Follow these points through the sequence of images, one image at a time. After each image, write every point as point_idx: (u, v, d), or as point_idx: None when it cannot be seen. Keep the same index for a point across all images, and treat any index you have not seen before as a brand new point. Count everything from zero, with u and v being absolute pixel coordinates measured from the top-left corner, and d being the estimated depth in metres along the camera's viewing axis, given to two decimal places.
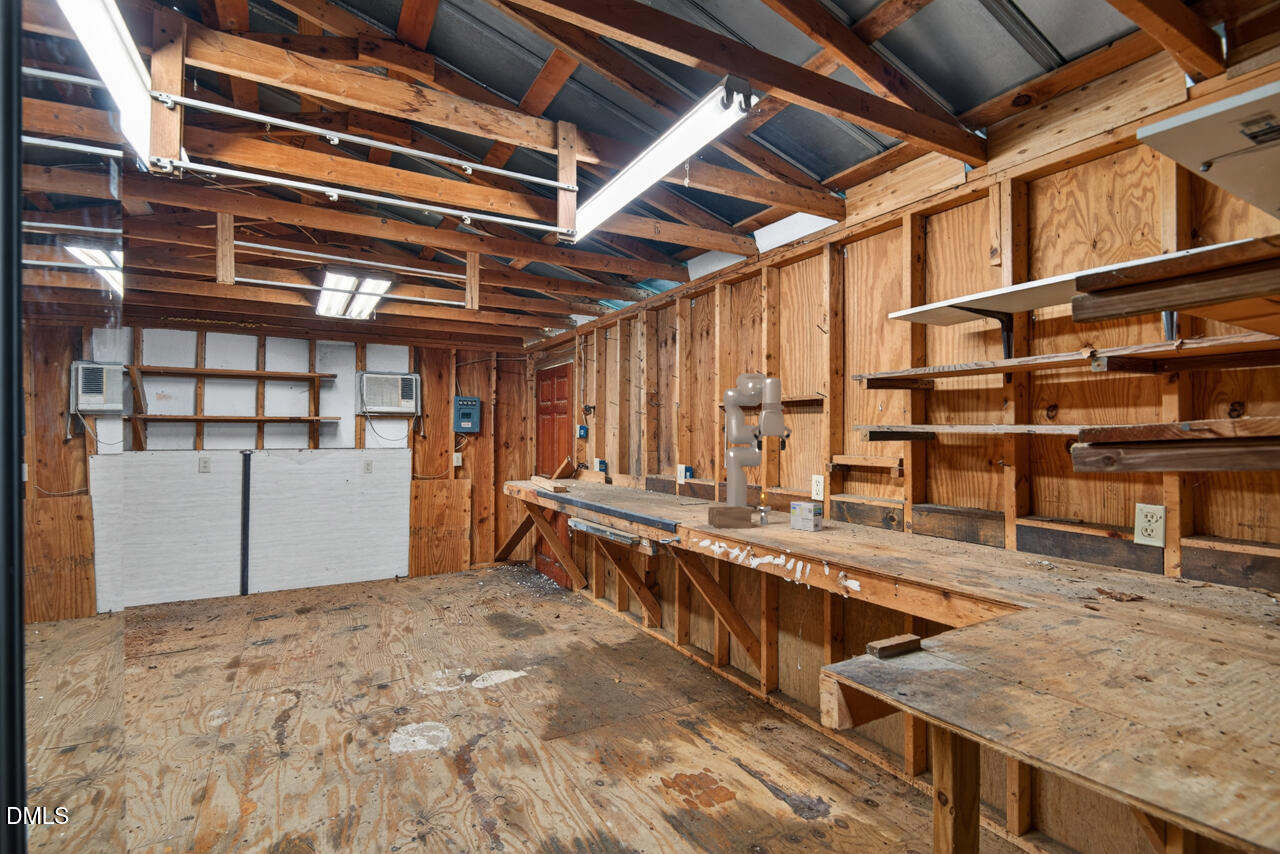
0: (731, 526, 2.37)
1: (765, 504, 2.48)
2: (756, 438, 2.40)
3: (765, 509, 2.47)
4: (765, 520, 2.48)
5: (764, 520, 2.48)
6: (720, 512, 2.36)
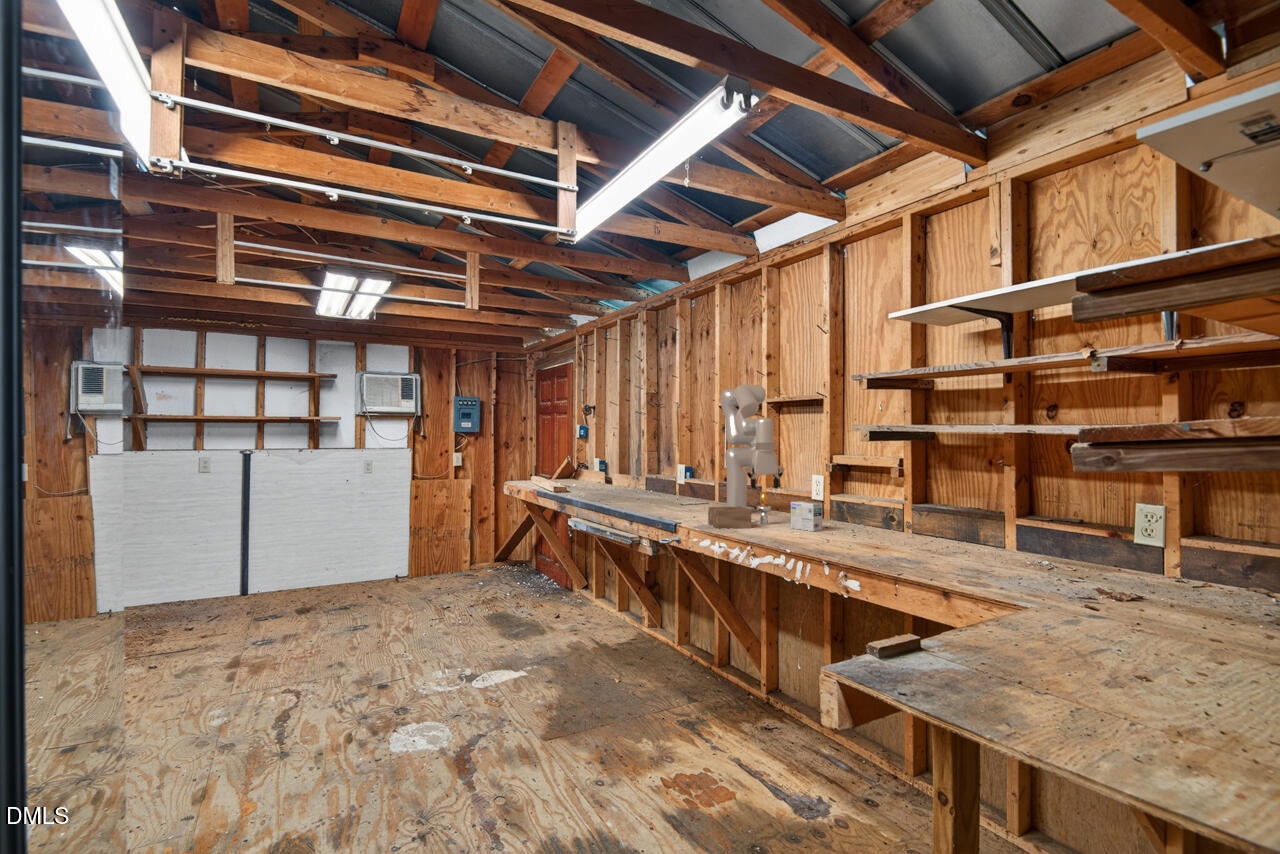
0: (731, 526, 2.37)
1: (765, 504, 2.48)
2: (750, 477, 2.47)
3: (765, 509, 2.47)
4: (765, 520, 2.48)
5: (764, 520, 2.48)
6: (720, 512, 2.36)
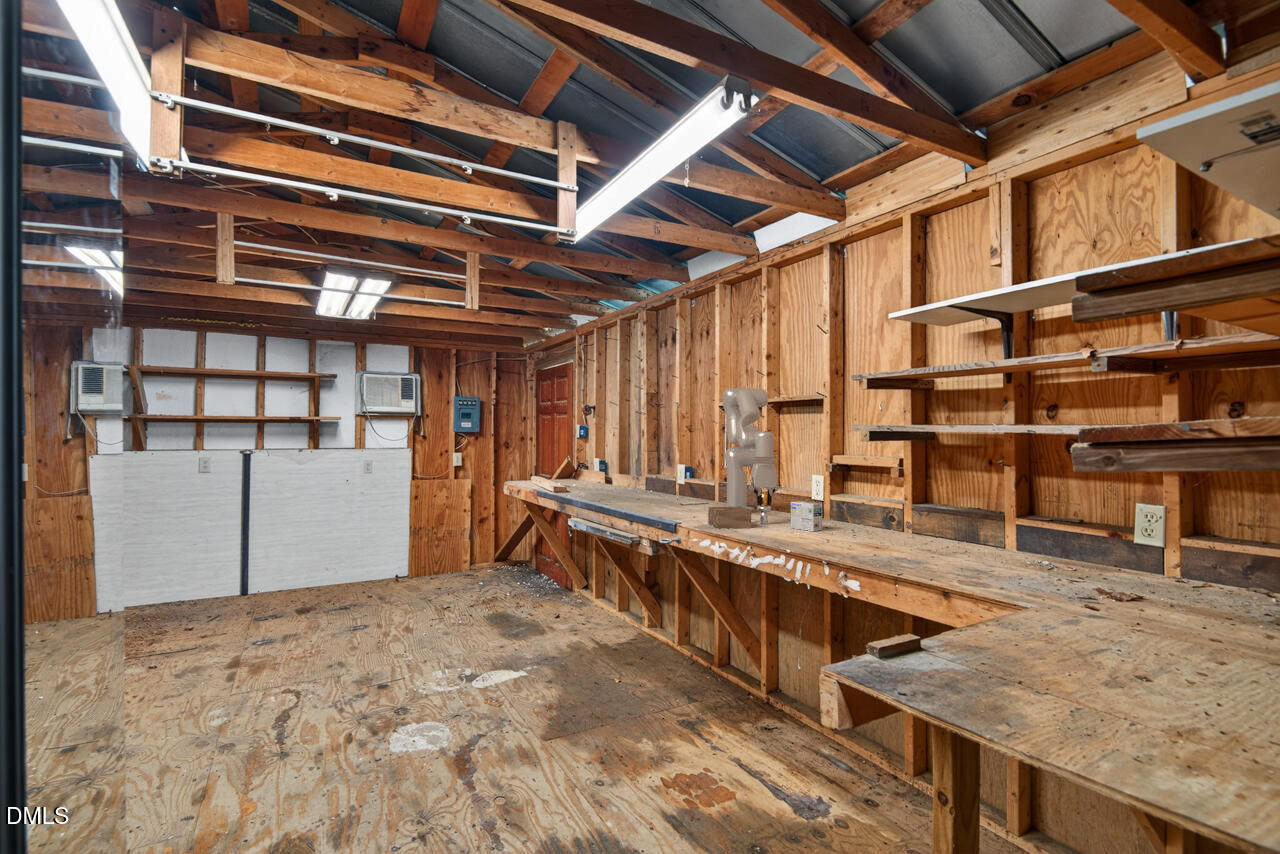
0: (731, 526, 2.37)
1: (765, 504, 2.48)
2: (756, 493, 2.48)
3: (765, 509, 2.47)
4: (765, 520, 2.48)
5: (764, 520, 2.48)
6: (720, 512, 2.36)
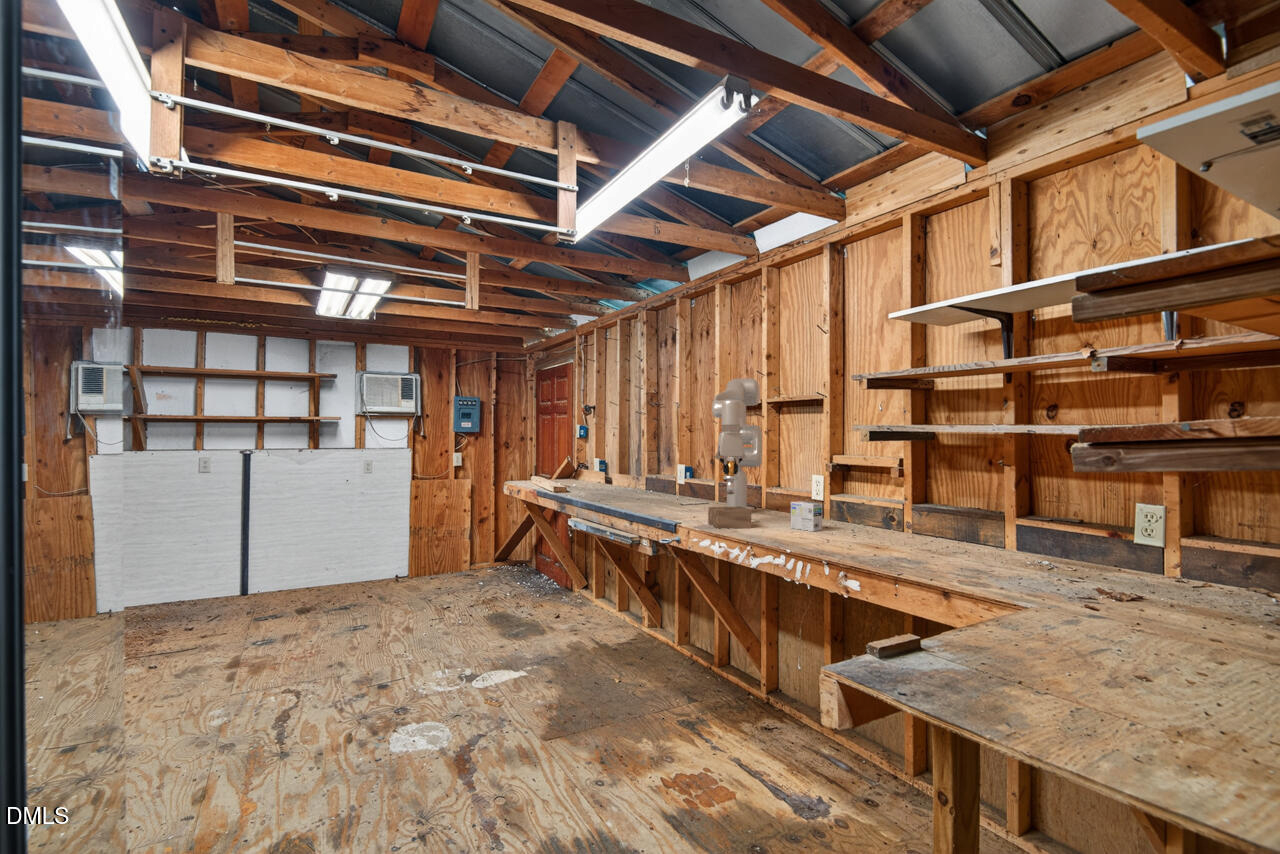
0: (731, 526, 2.37)
1: (731, 473, 2.43)
2: (722, 462, 2.43)
3: (731, 478, 2.41)
4: (731, 489, 2.43)
5: (731, 489, 2.43)
6: (720, 512, 2.36)
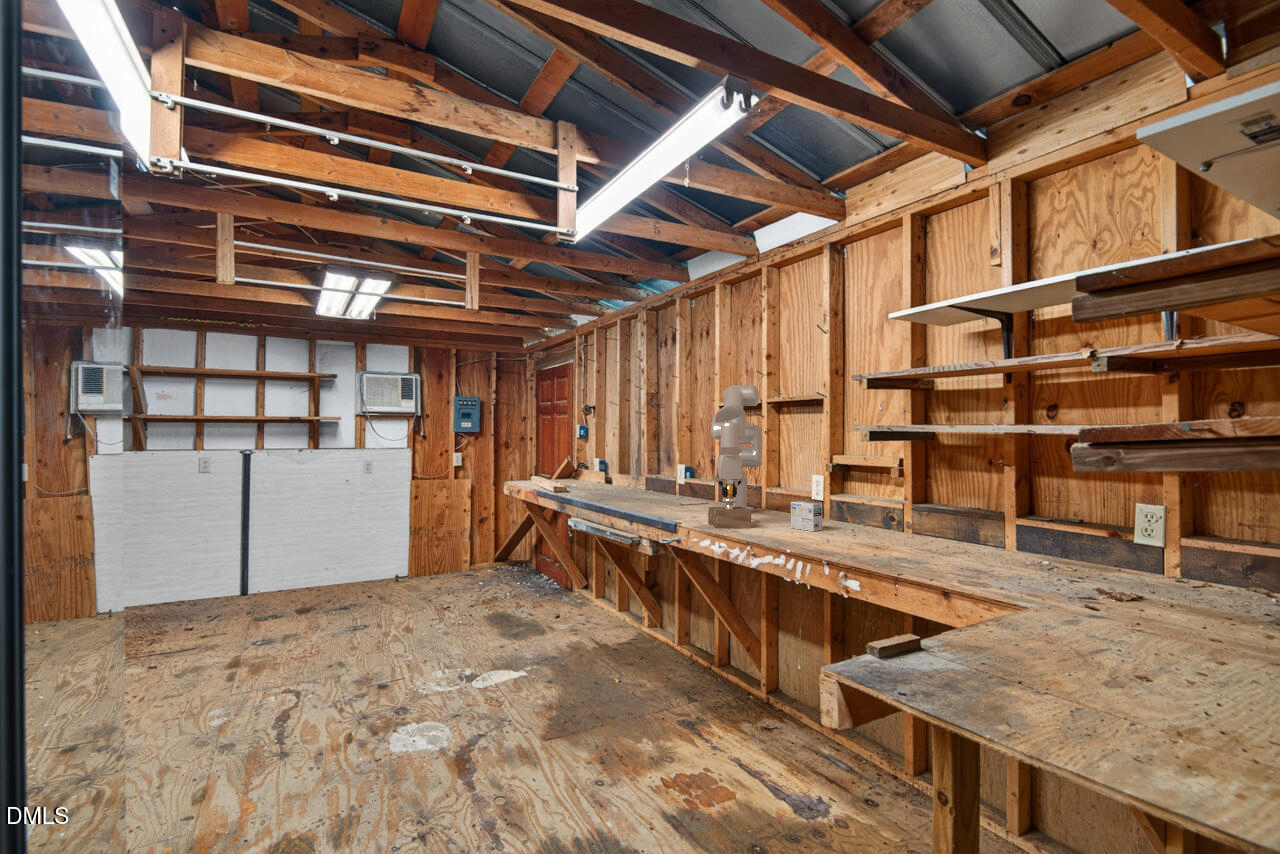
0: (731, 526, 2.37)
1: (730, 496, 2.42)
2: (721, 485, 2.43)
3: (730, 501, 2.41)
4: None
5: None
6: (720, 512, 2.36)
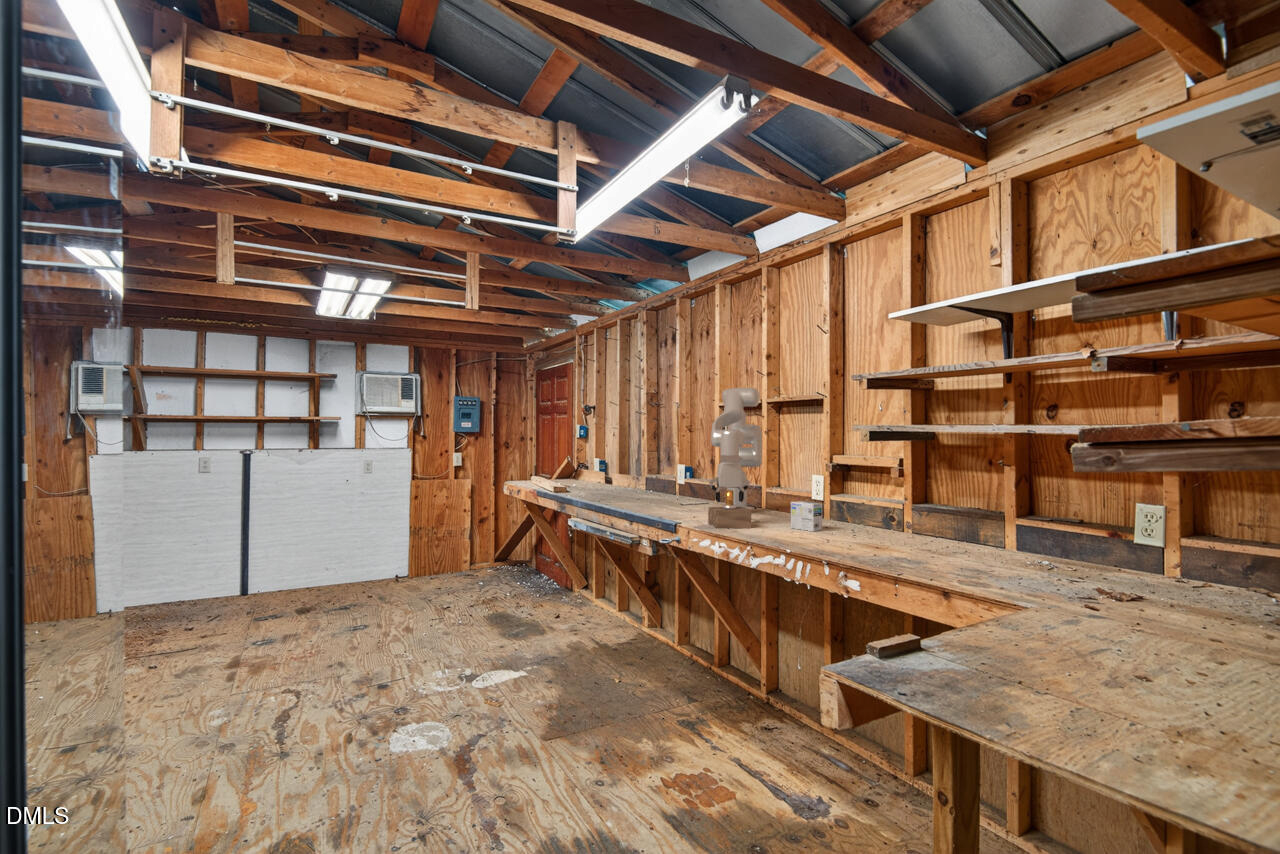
0: (731, 526, 2.37)
1: (730, 503, 2.42)
2: (714, 490, 2.42)
3: (730, 508, 2.41)
4: None
5: None
6: (720, 512, 2.36)
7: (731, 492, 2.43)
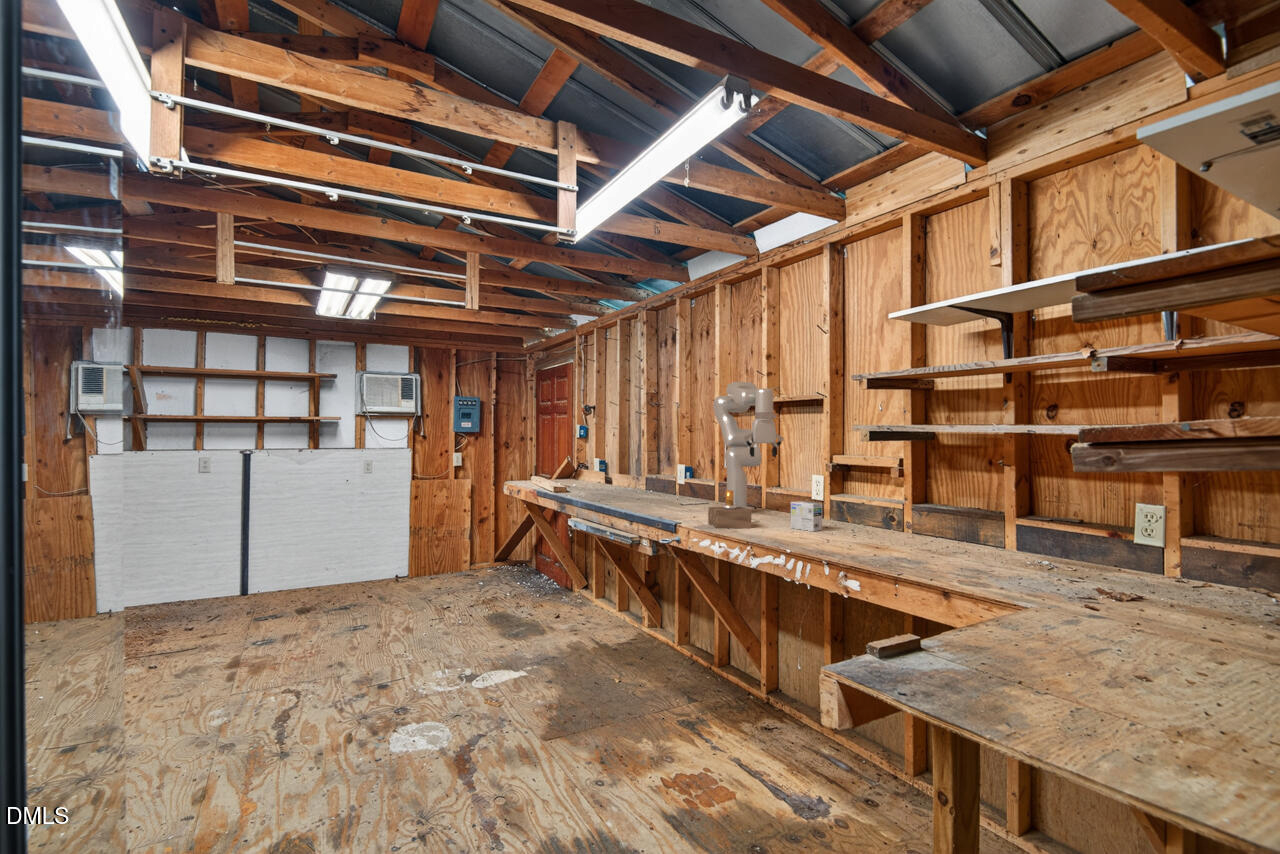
0: (731, 526, 2.37)
1: (730, 503, 2.42)
2: (749, 445, 2.56)
3: (730, 508, 2.41)
4: None
5: None
6: (720, 512, 2.36)
7: (731, 492, 2.43)
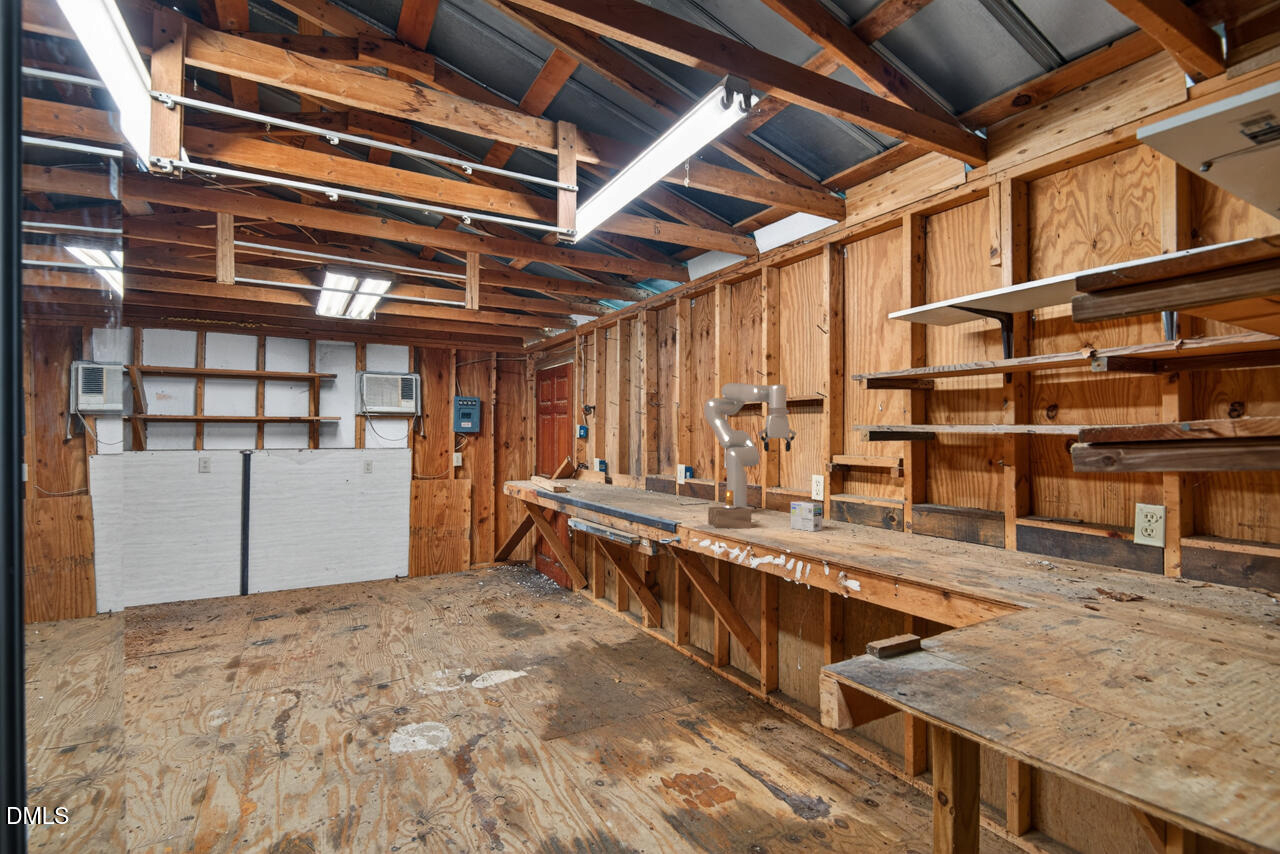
0: (731, 526, 2.37)
1: (730, 503, 2.42)
2: (763, 440, 2.61)
3: (730, 508, 2.41)
4: None
5: None
6: (720, 512, 2.36)
7: (731, 492, 2.43)
